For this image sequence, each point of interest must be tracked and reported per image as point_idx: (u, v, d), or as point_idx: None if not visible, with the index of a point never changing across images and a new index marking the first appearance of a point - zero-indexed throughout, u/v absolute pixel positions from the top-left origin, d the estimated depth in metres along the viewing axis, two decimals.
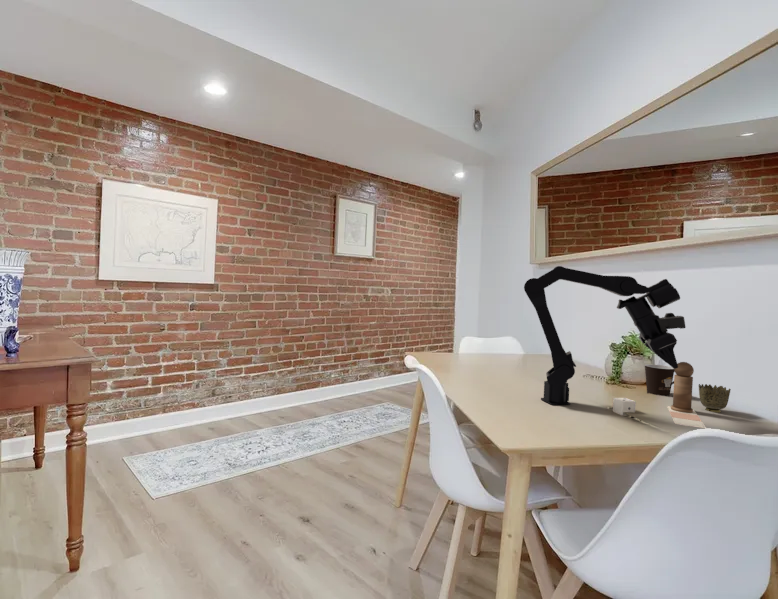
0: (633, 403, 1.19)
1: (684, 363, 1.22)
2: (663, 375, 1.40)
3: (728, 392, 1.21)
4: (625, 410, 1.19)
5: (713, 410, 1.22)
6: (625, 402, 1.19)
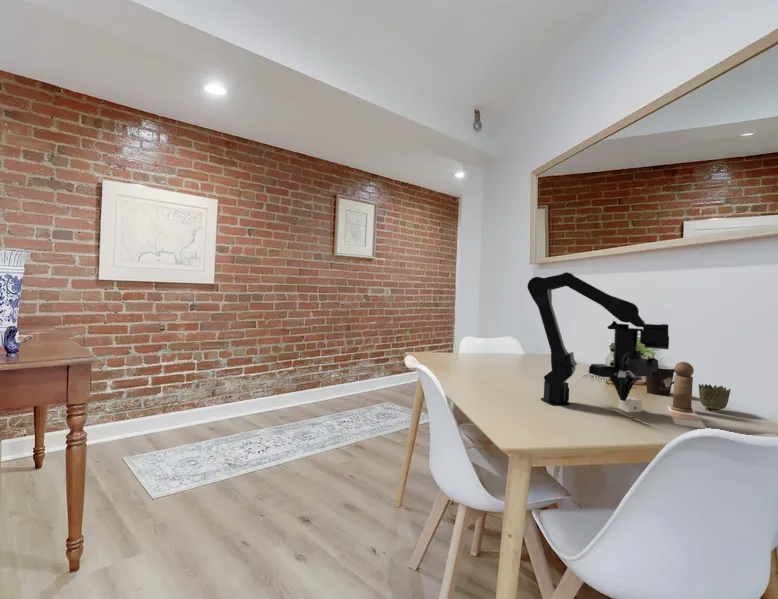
0: (639, 402, 1.19)
1: (684, 363, 1.22)
2: (663, 375, 1.40)
3: (728, 392, 1.21)
4: (631, 409, 1.19)
5: (713, 410, 1.22)
6: (631, 401, 1.19)
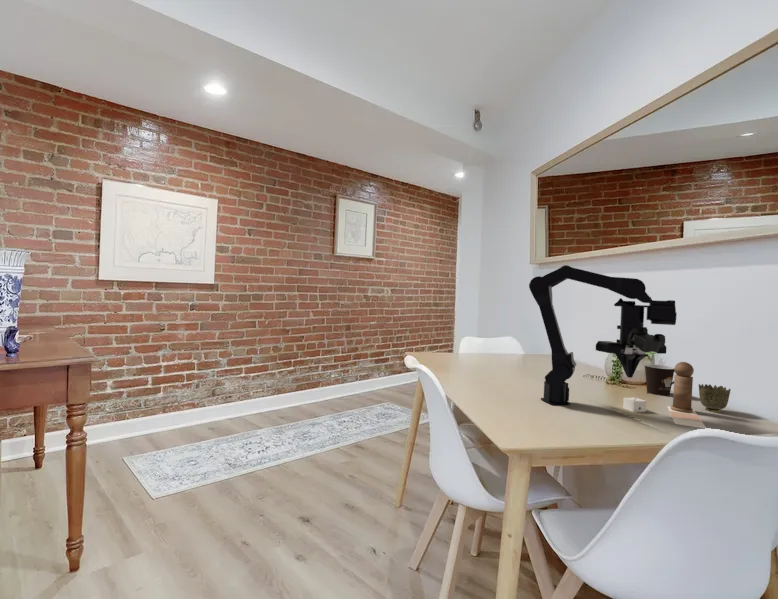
0: (644, 403, 1.20)
1: (684, 363, 1.22)
2: (663, 375, 1.40)
3: (728, 392, 1.21)
4: (636, 410, 1.19)
5: (713, 410, 1.22)
6: (636, 402, 1.19)
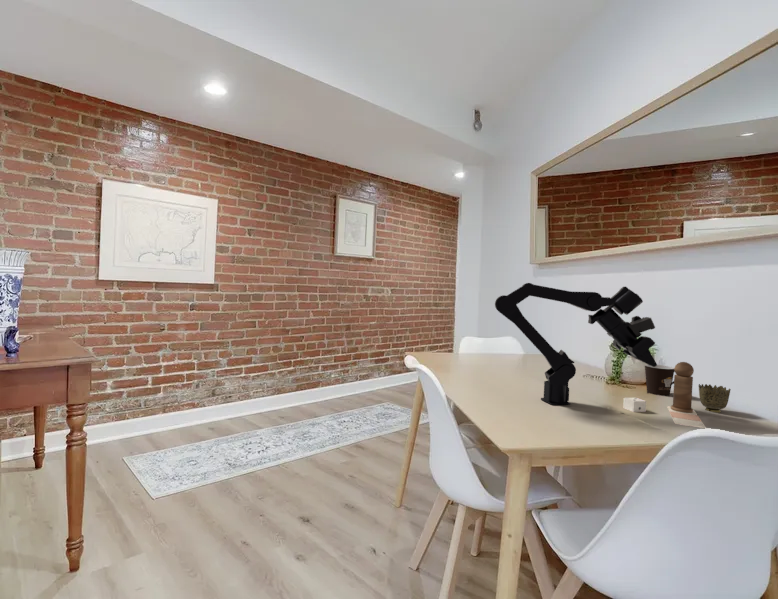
0: (644, 403, 1.20)
1: (684, 363, 1.22)
2: (663, 375, 1.40)
3: (728, 392, 1.21)
4: (636, 410, 1.19)
5: (713, 410, 1.22)
6: (636, 402, 1.19)
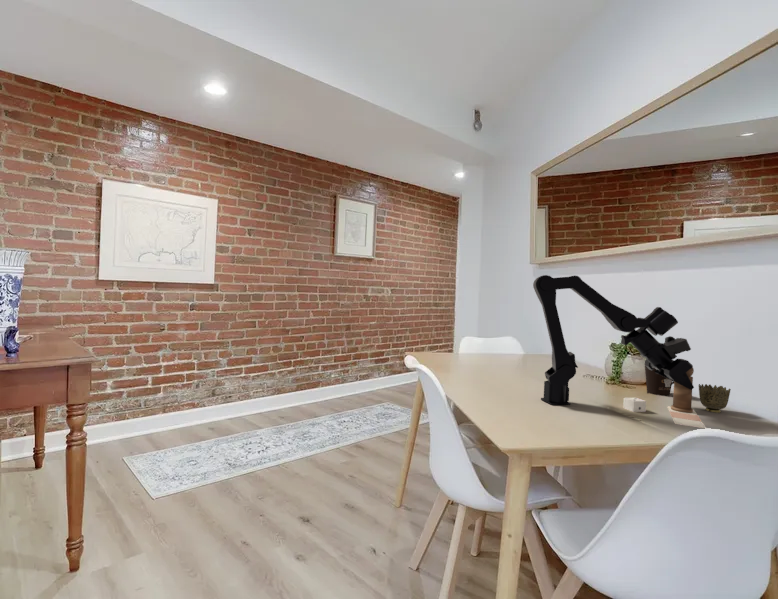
0: (644, 403, 1.20)
1: None
2: None
3: (728, 392, 1.21)
4: (636, 410, 1.19)
5: (713, 410, 1.22)
6: (636, 402, 1.19)
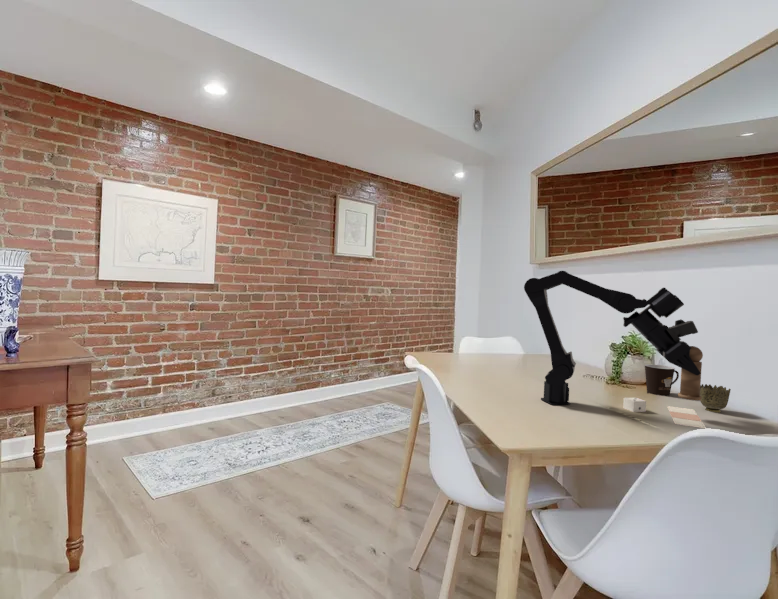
0: (644, 403, 1.20)
1: (691, 347, 1.14)
2: (663, 375, 1.40)
3: (728, 392, 1.21)
4: (636, 410, 1.19)
5: (713, 410, 1.22)
6: (636, 402, 1.19)
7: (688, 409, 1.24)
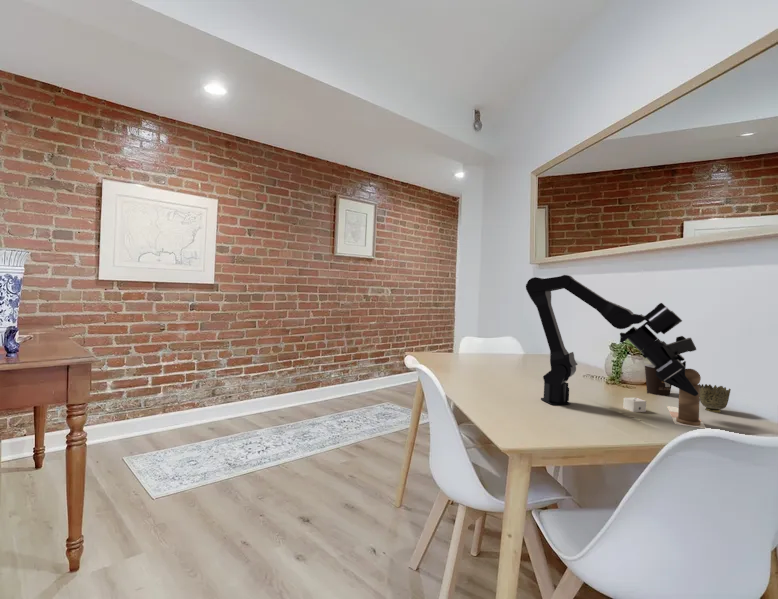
0: (644, 403, 1.20)
1: (688, 370, 1.10)
2: None
3: (728, 392, 1.21)
4: (636, 410, 1.19)
5: (713, 410, 1.22)
6: (636, 402, 1.19)
7: None
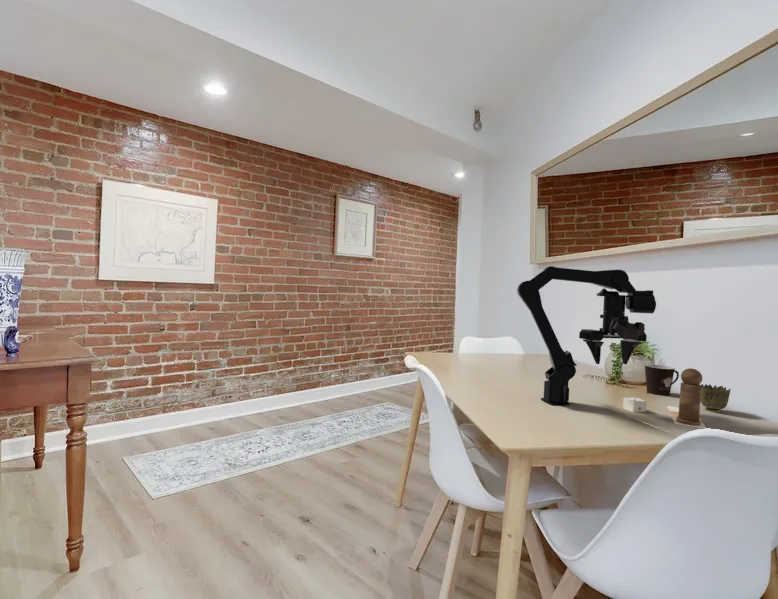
0: (644, 403, 1.20)
1: (690, 369, 1.10)
2: (663, 375, 1.40)
3: (728, 392, 1.21)
4: (636, 410, 1.19)
5: (713, 410, 1.22)
6: (636, 402, 1.19)
7: None
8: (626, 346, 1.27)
